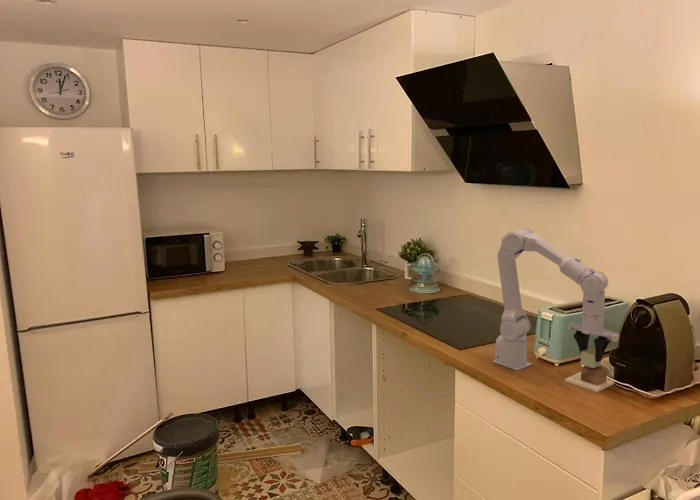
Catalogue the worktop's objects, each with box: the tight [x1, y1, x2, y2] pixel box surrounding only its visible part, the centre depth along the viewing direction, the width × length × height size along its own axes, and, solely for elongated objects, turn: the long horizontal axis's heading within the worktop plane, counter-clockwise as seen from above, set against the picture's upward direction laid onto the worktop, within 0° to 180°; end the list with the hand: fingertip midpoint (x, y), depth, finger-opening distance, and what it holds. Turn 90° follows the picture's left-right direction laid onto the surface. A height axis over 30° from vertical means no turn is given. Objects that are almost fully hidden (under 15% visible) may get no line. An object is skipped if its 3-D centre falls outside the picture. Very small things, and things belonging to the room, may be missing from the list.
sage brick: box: [580, 347, 602, 368], centre depth 155 cm, size 4×4×4 cm
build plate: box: [564, 371, 615, 393], centre depth 156 cm, size 10×10×1 cm
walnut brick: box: [580, 365, 608, 385], centre depth 155 cm, size 5×5×4 cm
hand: (591, 358), depth 155 cm, fingers closed on sage brick, 4 cm apart
